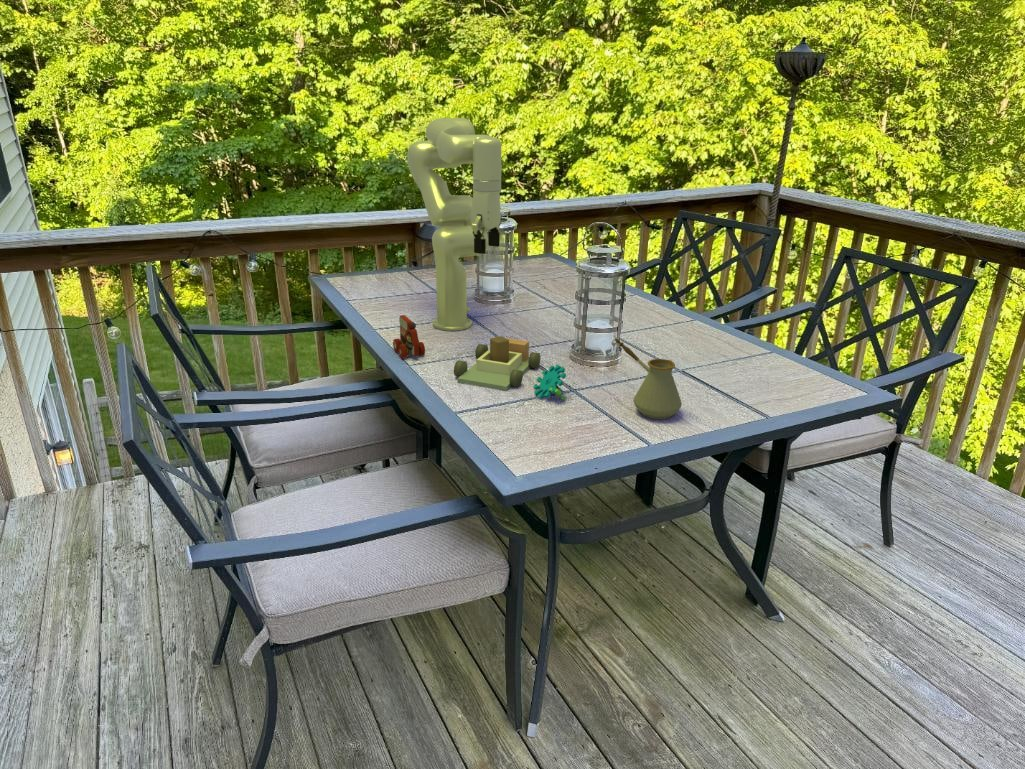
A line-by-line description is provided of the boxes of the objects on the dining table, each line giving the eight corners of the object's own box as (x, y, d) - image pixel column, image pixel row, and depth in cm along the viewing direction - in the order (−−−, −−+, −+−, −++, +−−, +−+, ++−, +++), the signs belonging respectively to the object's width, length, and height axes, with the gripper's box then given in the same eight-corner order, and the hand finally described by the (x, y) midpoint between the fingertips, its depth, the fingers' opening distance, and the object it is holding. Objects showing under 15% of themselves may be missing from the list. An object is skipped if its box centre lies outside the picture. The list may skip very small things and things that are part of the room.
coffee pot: (690, 414, 178) (697, 356, 172) (659, 427, 171) (665, 367, 165) (625, 386, 193) (629, 332, 187) (594, 397, 186) (597, 341, 180)
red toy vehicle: (404, 362, 206) (403, 327, 202) (391, 348, 216) (389, 315, 212) (428, 359, 209) (427, 324, 205) (413, 345, 219) (412, 312, 215)
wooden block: (501, 362, 204) (502, 335, 201) (509, 367, 201) (509, 339, 198) (489, 365, 202) (489, 337, 199) (496, 369, 199) (496, 342, 196)
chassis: (484, 354, 213) (484, 334, 211) (542, 363, 207) (543, 342, 205) (450, 381, 194) (450, 359, 192) (514, 392, 188) (514, 369, 186)
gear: (527, 382, 191) (556, 356, 188) (542, 394, 194) (570, 369, 192) (538, 404, 181) (568, 378, 179) (553, 417, 184) (583, 391, 182)
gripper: (487, 181, 205) (486, 242, 212) (460, 189, 190) (461, 254, 197) (512, 183, 202) (511, 244, 209) (487, 191, 188) (487, 257, 194)
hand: (487, 249), depth 203 cm, fingers open, 9 cm apart
